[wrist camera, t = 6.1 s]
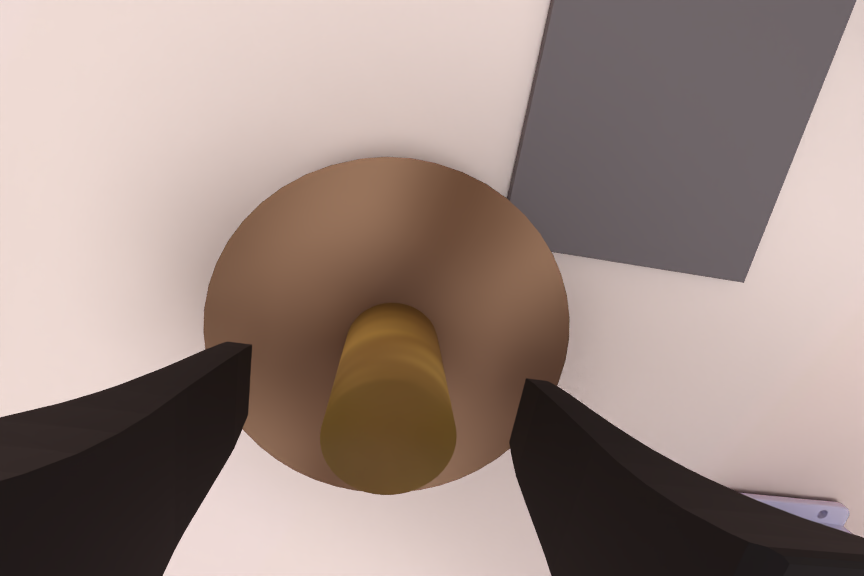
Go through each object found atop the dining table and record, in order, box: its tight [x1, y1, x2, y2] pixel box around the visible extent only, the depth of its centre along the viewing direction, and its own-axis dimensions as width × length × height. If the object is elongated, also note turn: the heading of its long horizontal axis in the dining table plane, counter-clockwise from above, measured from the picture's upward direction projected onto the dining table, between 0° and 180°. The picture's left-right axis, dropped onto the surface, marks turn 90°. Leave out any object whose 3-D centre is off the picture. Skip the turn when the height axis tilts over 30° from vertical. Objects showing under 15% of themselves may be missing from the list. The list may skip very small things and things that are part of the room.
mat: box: [507, 0, 856, 283], centre depth 15 cm, size 10×10×1 cm
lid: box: [204, 157, 569, 495], centre depth 11 cm, size 11×11×5 cm
